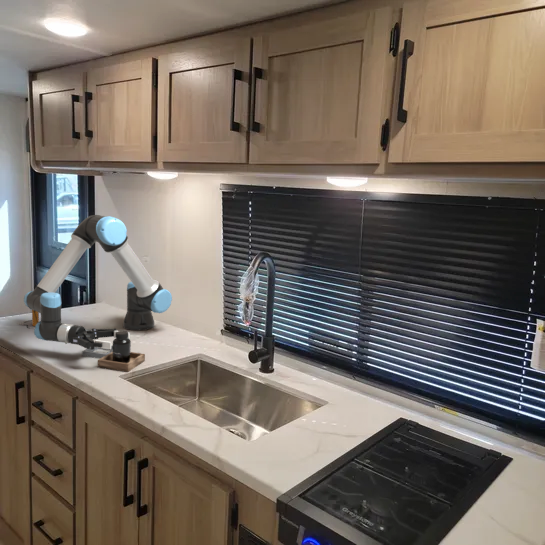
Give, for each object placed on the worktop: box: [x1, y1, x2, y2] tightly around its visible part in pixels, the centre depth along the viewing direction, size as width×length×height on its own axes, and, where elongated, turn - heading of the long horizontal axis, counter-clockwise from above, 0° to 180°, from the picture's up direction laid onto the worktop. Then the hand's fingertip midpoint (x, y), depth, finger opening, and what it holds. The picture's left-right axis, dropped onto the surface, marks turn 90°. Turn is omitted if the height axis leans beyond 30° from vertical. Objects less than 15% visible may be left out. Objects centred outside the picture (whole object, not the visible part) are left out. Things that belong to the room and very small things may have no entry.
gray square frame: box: [81, 344, 113, 359], centre depth 205 cm, size 11×11×2 cm
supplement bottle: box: [112, 330, 132, 363], centre depth 193 cm, size 7×7×12 cm
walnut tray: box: [97, 351, 146, 373], centre depth 194 cm, size 13×13×3 cm
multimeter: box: [18, 283, 40, 329], centre depth 237 cm, size 15×10×20 cm
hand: (120, 340), depth 193 cm, fingers open, 13 cm apart
